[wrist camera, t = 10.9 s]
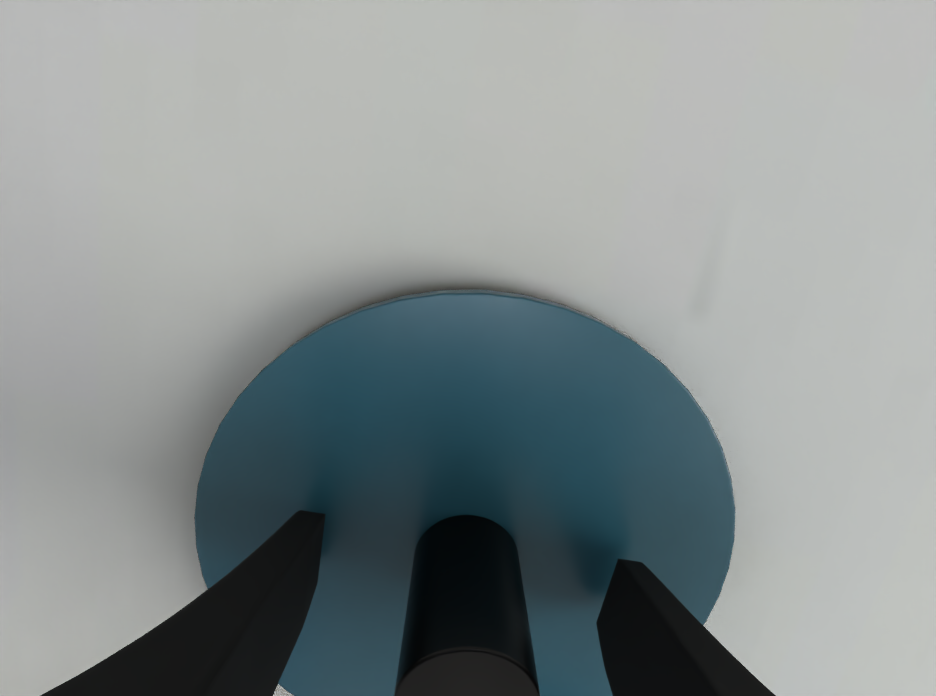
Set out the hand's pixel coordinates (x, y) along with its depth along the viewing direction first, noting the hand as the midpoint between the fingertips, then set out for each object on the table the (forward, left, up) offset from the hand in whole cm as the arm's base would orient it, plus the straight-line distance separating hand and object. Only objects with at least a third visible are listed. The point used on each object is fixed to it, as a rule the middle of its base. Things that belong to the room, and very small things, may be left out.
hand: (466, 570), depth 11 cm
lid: (0, 0, -1) cm, 1 cm away
